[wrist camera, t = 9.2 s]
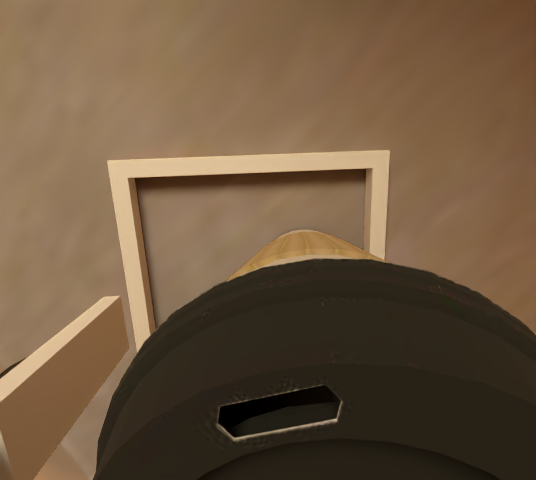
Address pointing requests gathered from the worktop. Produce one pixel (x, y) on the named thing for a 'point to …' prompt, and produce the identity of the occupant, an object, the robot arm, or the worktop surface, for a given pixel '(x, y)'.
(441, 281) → the coffee cup
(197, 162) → the green block with frame
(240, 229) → the worktop surface
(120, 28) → the worktop surface
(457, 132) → the worktop surface
